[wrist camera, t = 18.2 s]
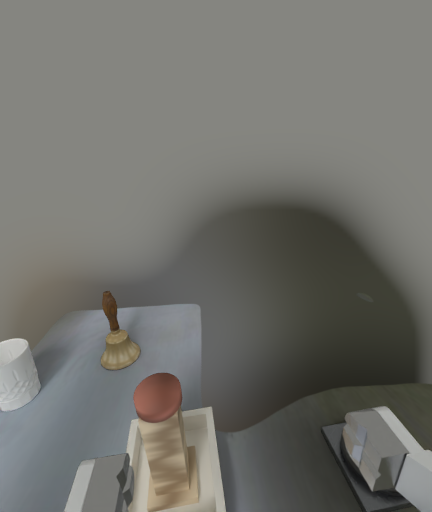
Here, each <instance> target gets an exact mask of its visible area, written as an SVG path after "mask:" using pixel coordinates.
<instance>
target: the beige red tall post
mask: <svg viewBox="0 0 432 512" xmlns="http://www.w3.org/2000/svg"><path fill="white" fill-rule="evenodd" d="M133 398H134V404H135V408H136V412H137V415H138V416H139V420H138V423H139V427H140V431H141V435H142V439H143V443H144V448H145V452H146V456H147V460H148V464H149V468H150V478H149V489H148V501H147V511H148V512H156V511H160V510H165V509H170V508H175V507H180V506H185V505H189V504H194V503H199V498H198V482H197V465H196V450H195V446H189V447H187V443H186V437H185V430H184V423H183V417H182V410H181V402H182V392H181V385H180V382H179V380H178V379H177V378H176V377H175V376H174V375H172V374H169V373H157V374H153V375H151V376H149V377H147V378H145V379H144V380H143V381H142V382H141V383H140V384H139V385H138V386H137V388H136V390H135V392H134V397H133Z"/></svg>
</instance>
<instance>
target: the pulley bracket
mask: <svg viewBox="0 0 432 512" xmlns="http://www.w3.org/2000/svg"><path fill="white" fill-rule="evenodd" d="M346 424H347V422H346V423H341V424H335V425H330V426H324V427H322V429H321V432H322V434H323V436H324V438H325V440H326V442H327V444H328V446H329V447H330V449H331V451H332V453H333V455H334V457H335V459H336V461H337V463H338V465H339V467H340V469H341V470H342V472H343V474H344V476H345V478H346V480H347V482H348V484H349V486H350V488H351V490H352V491H353V493H354V495H355V497H356V499H357V501H358V503H359V505H360V507H361V509H362V511H363V512H390V511H394V510H398V509H403V508H407V507H411V506H414V505H413V504H412V503H411V502H409V501H408V500H407V499H406V498H405V497H404V496H403V495H401V494H400V493H399V492H398V491H397V490H396V489H395V488H396V487H395V488H389V489H384V490H378V491H373V492H372V490H371V489H370V487H369V485H368V483H367V482H366V480H365V478H364V477H363V475H362V473H361V472H360V468H359V461H357V460H356V459H355V458H353V457H352V456H351V454H350V453H349V451H348V449H347V447H346V444H345V442H344V438H343V427H344V426H345V425H346Z"/></svg>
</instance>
